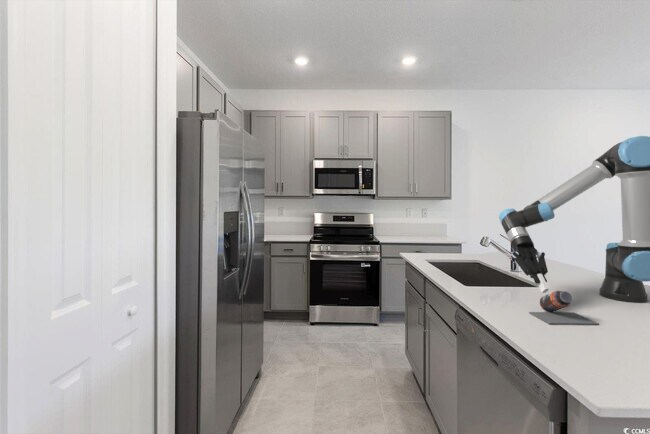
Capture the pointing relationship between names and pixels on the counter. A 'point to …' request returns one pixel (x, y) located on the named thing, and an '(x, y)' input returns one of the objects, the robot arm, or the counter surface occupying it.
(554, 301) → the supplement bottle
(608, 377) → the counter surface
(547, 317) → the mat
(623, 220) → the robot arm
